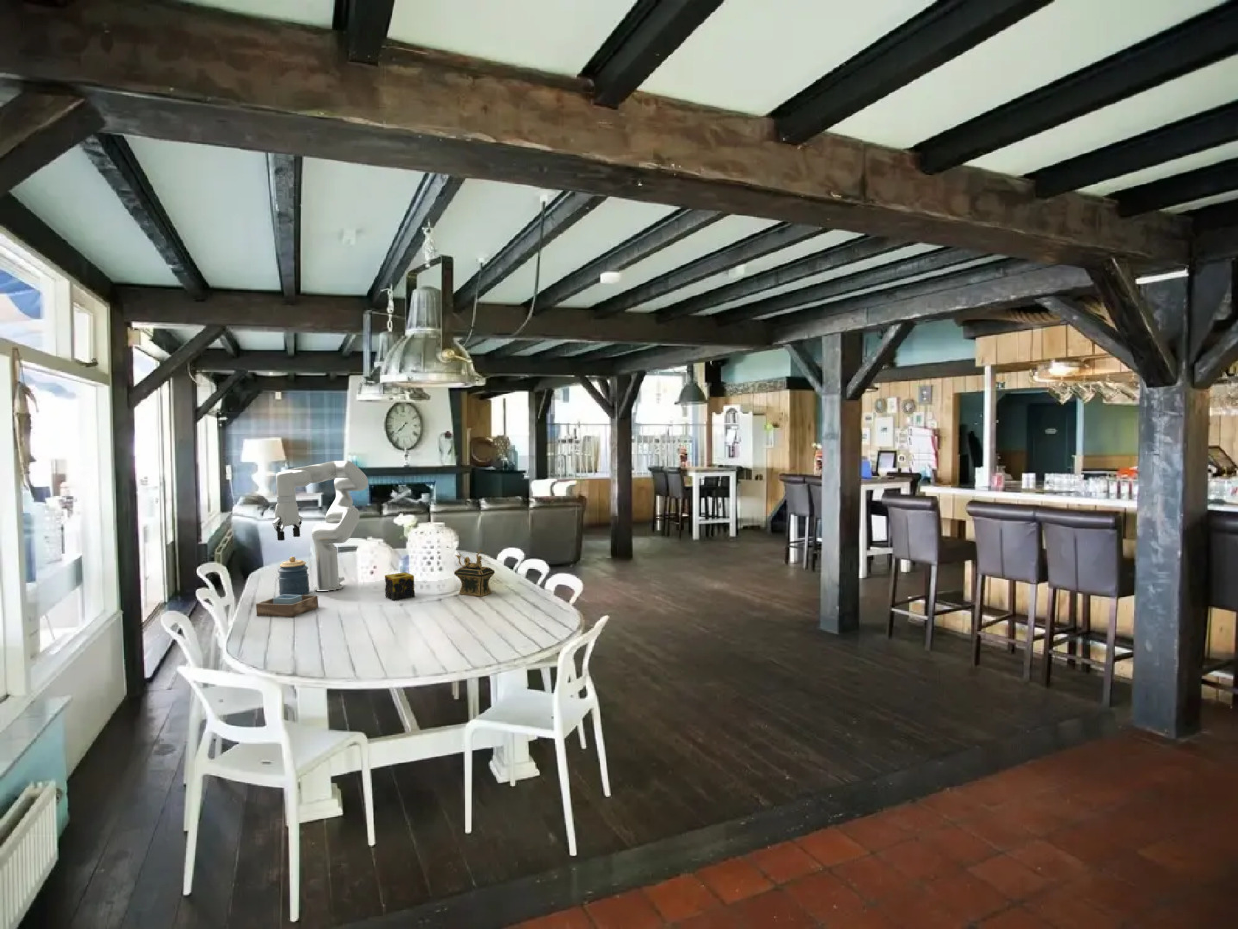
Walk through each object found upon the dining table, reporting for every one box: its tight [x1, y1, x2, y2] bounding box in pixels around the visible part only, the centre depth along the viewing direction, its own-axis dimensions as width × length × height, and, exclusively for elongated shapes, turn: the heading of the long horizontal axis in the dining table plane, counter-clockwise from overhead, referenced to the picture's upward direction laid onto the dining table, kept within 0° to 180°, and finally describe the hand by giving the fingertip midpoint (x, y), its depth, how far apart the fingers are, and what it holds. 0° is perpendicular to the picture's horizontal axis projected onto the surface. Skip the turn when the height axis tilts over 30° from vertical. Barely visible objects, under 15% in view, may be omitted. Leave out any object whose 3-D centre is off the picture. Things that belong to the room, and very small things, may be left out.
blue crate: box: [272, 595, 302, 605], centre depth 301 cm, size 6×9×6 cm
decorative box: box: [453, 548, 495, 597], centre depth 322 cm, size 20×10×20 cm, turn 60°
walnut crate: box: [255, 594, 319, 618], centre depth 301 cm, size 16×18×5 cm
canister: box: [277, 556, 310, 596], centre depth 333 cm, size 13×13×18 cm
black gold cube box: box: [384, 572, 415, 601], centre depth 320 cm, size 10×10×10 cm
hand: (289, 538), depth 317 cm, fingers open, 9 cm apart
